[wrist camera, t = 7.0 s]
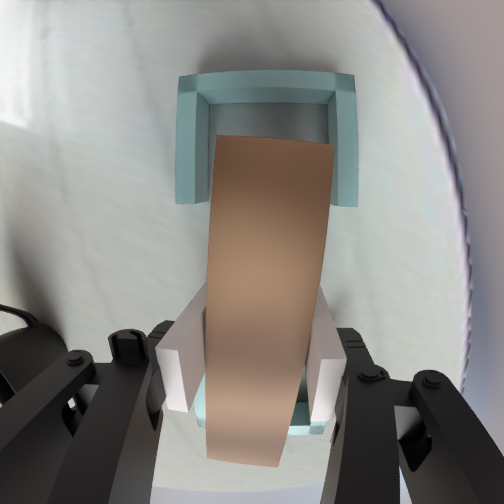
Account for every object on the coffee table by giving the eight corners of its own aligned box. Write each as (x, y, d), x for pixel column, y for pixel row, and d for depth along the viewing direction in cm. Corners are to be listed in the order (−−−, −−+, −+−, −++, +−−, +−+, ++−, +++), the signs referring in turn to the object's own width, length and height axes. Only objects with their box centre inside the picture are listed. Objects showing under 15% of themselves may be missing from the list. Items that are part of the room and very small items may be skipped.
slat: (236, 153, 13) (217, 135, 9) (317, 160, 13) (334, 145, 9) (221, 409, 17) (207, 458, 12) (279, 416, 16) (277, 467, 12)
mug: (45, 274, 22) (-25, 308, 12) (89, 378, 24) (41, 431, 15) (10, 284, 23) (-47, 312, 14) (48, 373, 25) (4, 413, 16)
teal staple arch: (193, 91, 17) (179, 76, 14) (343, 90, 16) (354, 74, 13) (191, 201, 19) (175, 204, 16) (345, 203, 18) (357, 206, 15)
